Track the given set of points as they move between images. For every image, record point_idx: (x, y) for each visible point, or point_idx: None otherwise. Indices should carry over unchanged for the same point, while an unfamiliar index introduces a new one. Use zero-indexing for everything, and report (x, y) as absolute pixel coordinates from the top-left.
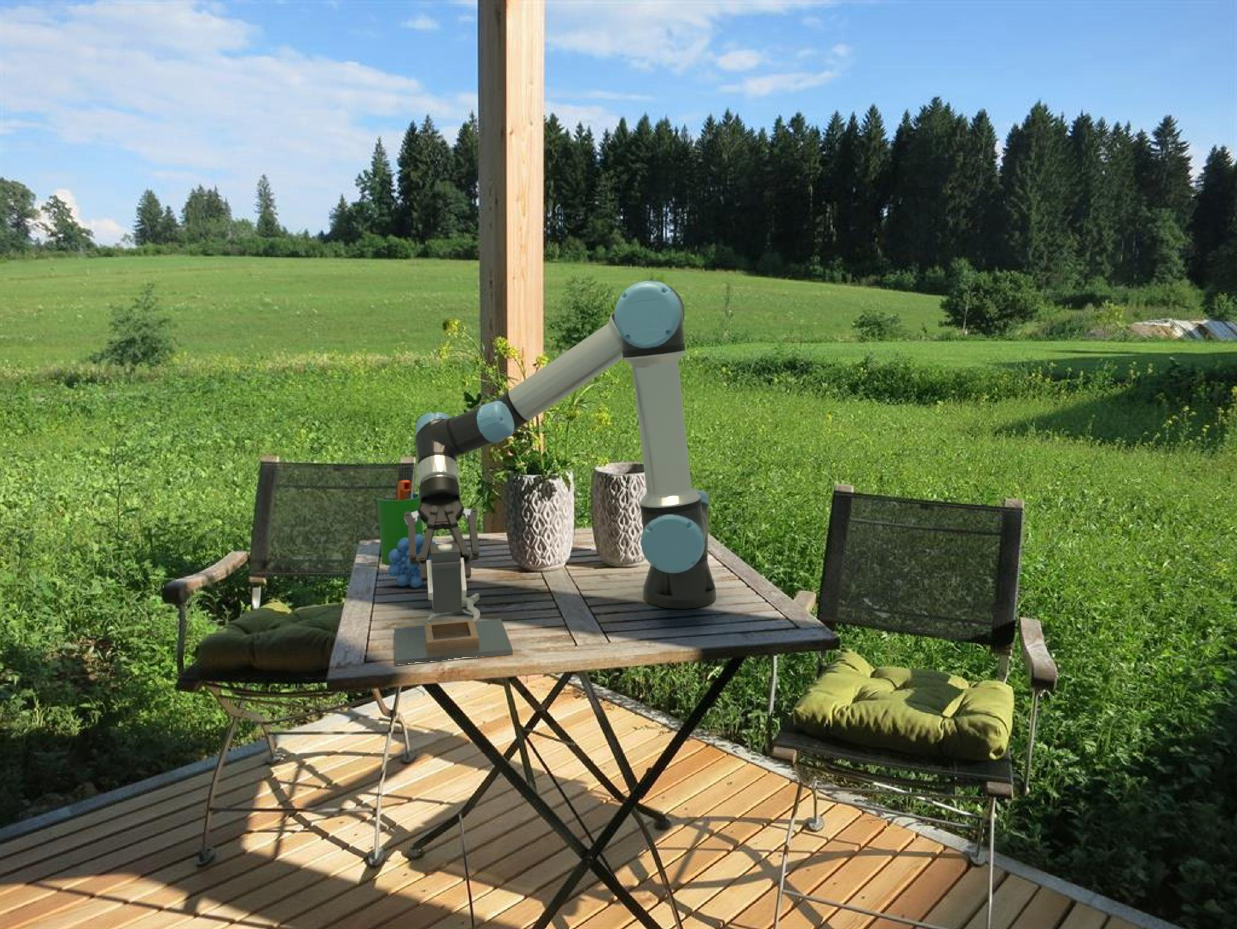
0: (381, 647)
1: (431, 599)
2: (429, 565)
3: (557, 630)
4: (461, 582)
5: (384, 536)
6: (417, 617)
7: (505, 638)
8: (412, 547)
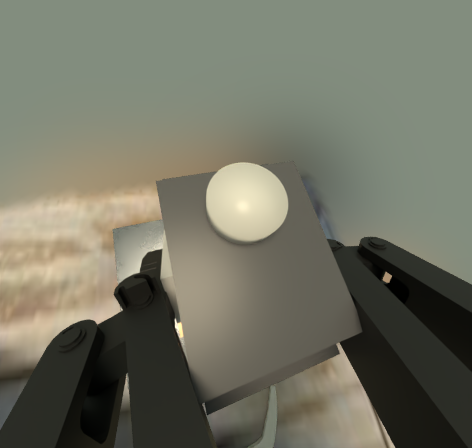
0: None
1: None
2: None
3: (12, 350)
4: None
5: None
6: (297, 411)
7: (122, 274)
8: (417, 268)
